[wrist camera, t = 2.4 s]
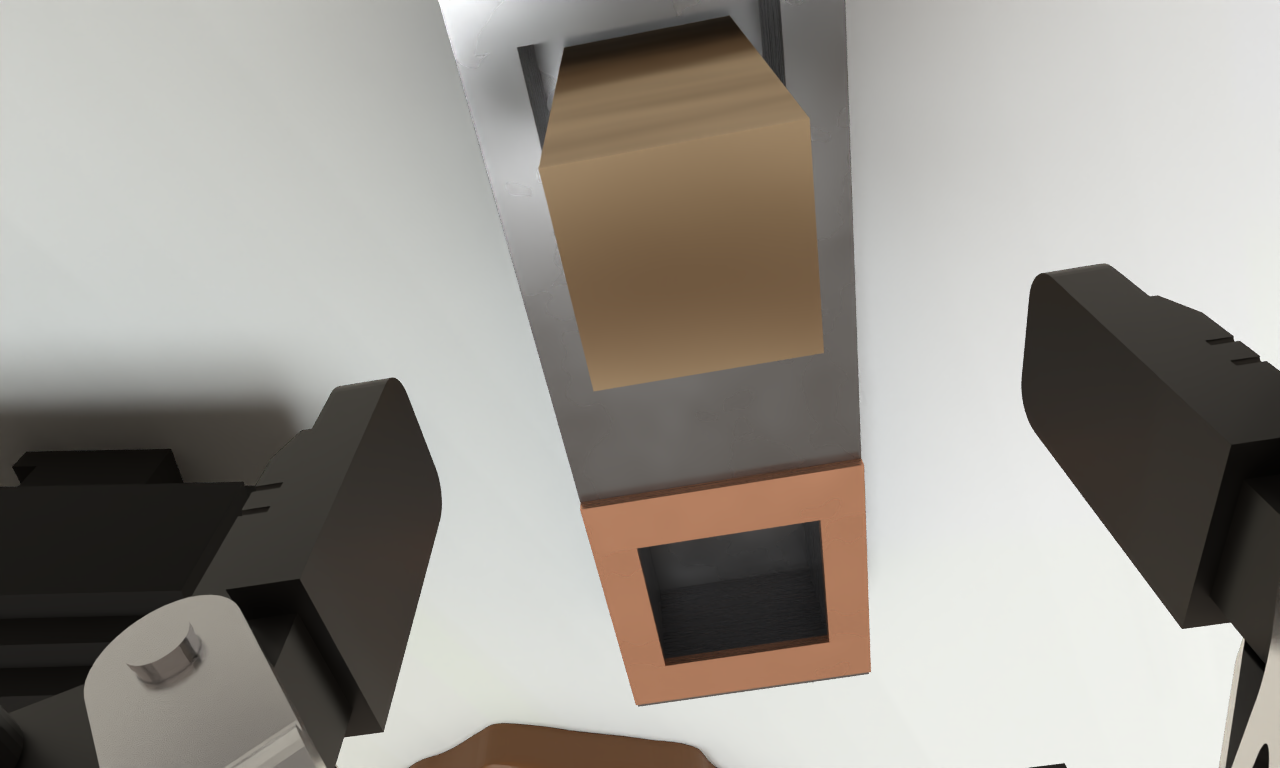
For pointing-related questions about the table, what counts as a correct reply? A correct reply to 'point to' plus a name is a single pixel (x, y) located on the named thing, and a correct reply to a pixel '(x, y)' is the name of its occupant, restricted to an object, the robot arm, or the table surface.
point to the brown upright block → (682, 205)
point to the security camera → (96, 557)
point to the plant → (562, 750)
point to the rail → (696, 383)
